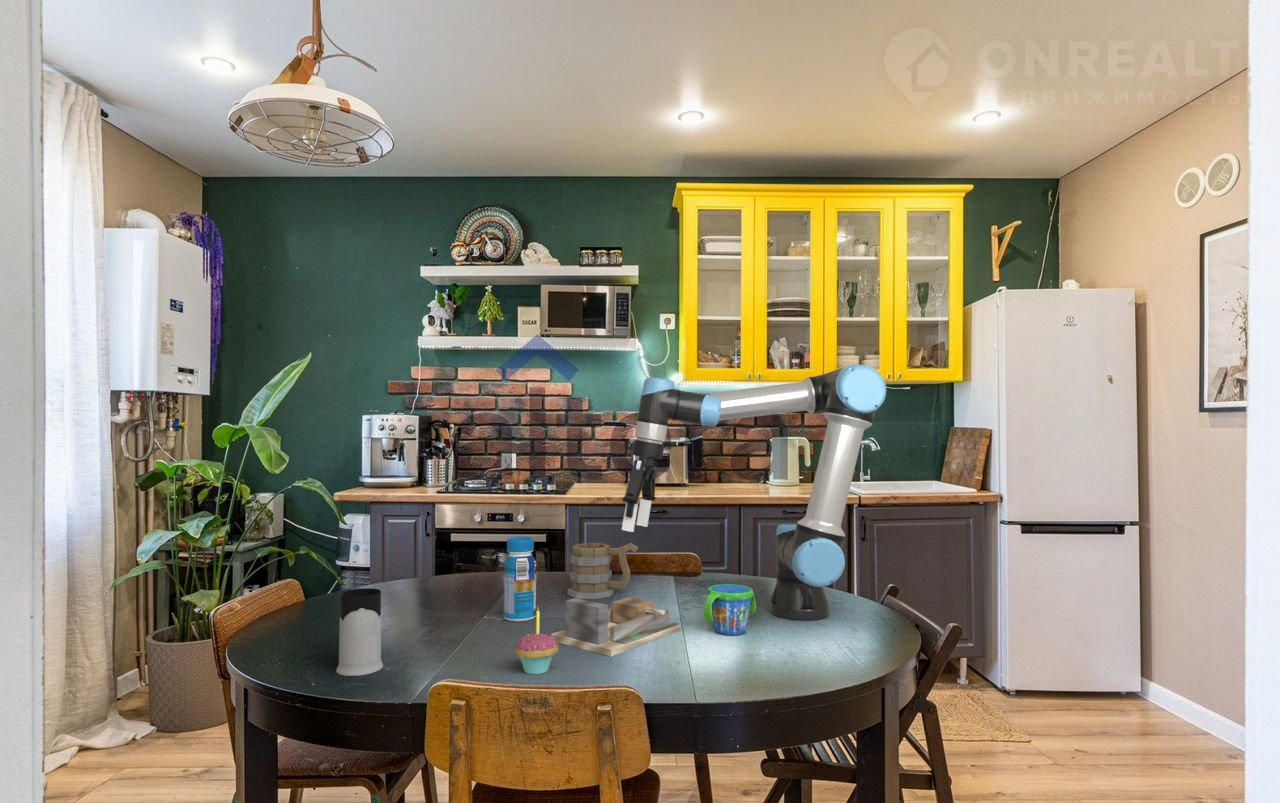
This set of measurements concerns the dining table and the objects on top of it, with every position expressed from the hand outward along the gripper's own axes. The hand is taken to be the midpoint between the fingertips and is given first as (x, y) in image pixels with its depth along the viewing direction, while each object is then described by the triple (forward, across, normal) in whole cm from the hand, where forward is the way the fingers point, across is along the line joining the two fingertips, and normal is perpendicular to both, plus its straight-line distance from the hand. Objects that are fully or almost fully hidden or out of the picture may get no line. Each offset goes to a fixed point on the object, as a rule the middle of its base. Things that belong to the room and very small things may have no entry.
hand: (635, 528), depth 170 cm
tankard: (+25, -32, -14) cm, 43 cm away
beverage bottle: (+28, -3, -27) cm, 39 cm away
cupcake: (+27, +32, -7) cm, 42 cm away
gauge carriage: (+21, +1, +6) cm, 22 cm away
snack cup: (+20, -4, +26) cm, 33 cm away
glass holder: (+33, +37, -43) cm, 66 cm away
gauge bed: (+24, +5, +1) cm, 25 cm away
